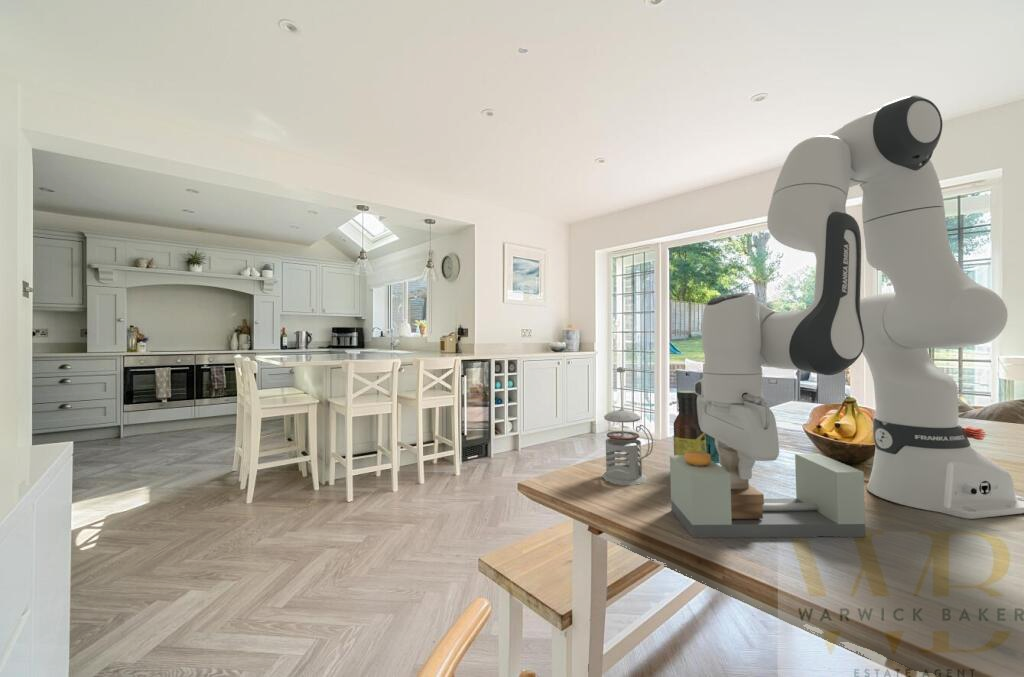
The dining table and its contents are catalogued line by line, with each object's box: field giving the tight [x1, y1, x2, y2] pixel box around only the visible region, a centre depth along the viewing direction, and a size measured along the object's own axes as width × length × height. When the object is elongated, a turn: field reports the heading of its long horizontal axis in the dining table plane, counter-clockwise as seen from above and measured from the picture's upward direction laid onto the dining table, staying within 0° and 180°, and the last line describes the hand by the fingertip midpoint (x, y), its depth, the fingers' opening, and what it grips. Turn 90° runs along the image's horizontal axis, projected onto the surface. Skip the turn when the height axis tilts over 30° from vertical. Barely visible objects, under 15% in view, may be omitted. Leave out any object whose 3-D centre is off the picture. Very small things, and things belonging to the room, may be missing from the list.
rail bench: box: [669, 452, 867, 539], centre depth 68 cm, size 26×10×10 cm, turn 87°
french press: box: [602, 366, 654, 486], centre depth 91 cm, size 10×12×25 cm
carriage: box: [720, 447, 765, 519], centre depth 69 cm, size 5×8×10 cm, turn 177°
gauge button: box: [685, 451, 711, 466], centre depth 69 cm, size 4×4×6 cm
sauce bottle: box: [672, 390, 706, 456], centre depth 86 cm, size 7×6×20 cm
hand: (734, 471), depth 69 cm, fingers open, 5 cm apart
